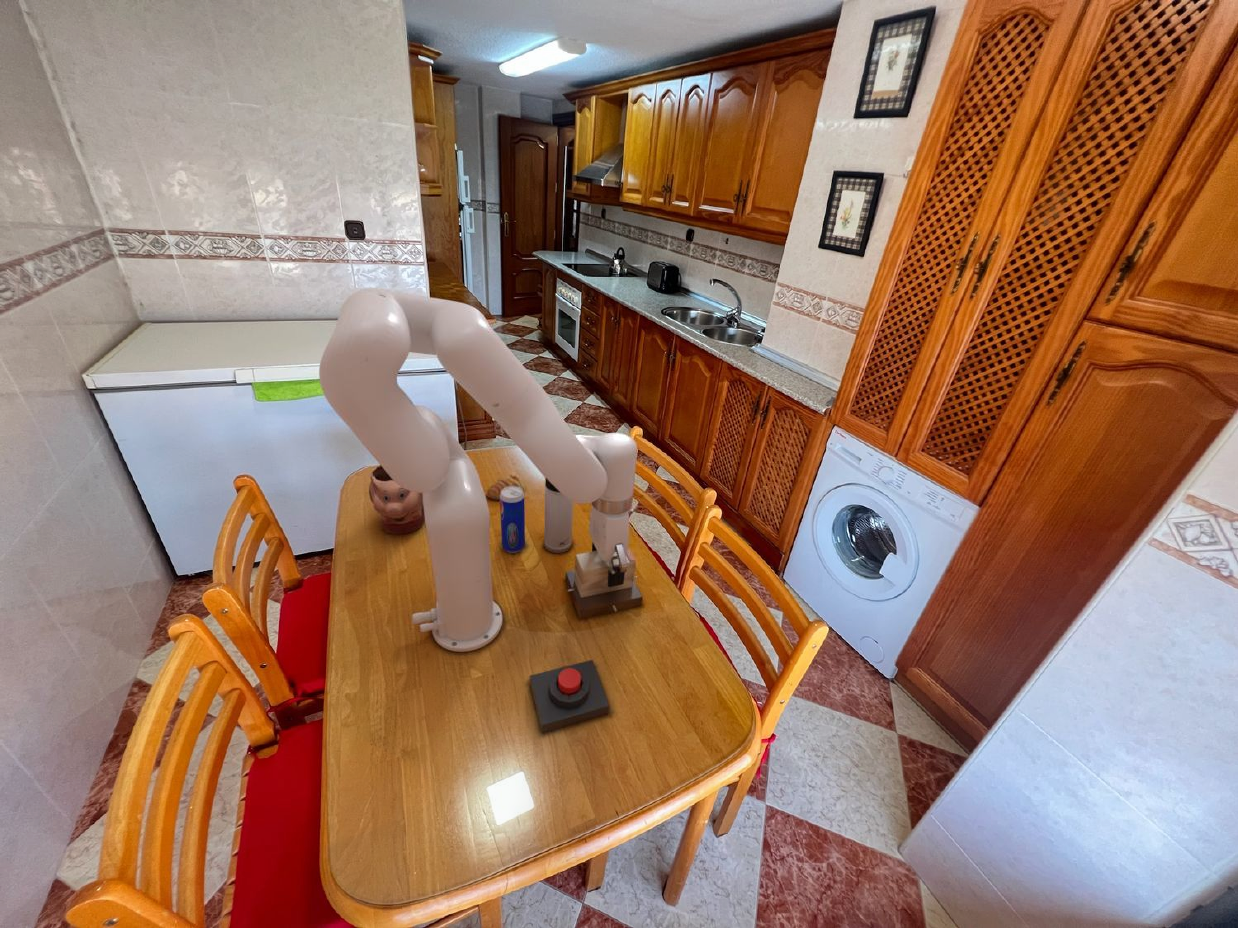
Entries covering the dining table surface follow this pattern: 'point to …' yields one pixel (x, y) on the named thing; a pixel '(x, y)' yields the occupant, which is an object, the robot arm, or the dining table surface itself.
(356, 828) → the dining table surface
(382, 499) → the decorative planter
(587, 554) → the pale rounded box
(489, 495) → the pastry
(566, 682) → the button
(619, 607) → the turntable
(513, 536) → the beverage can
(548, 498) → the travel mug
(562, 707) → the button block
